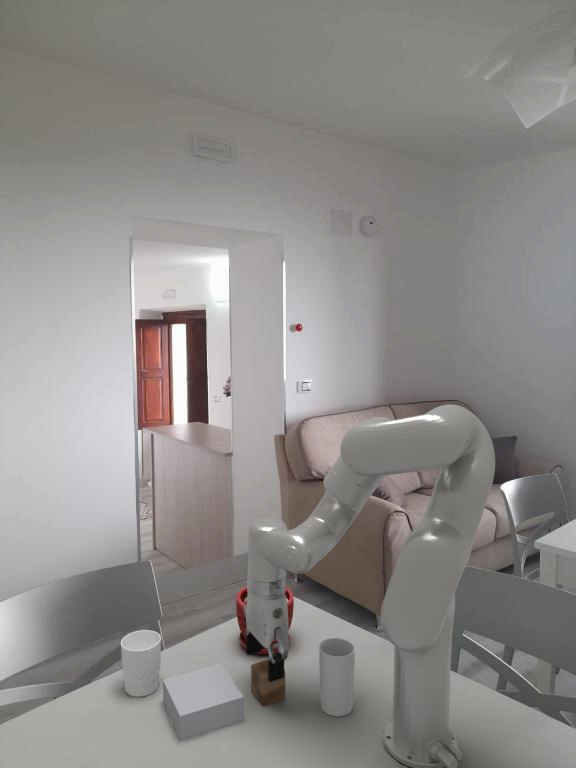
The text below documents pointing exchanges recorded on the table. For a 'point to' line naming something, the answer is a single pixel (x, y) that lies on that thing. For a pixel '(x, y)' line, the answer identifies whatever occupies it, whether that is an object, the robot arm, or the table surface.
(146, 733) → the table surface
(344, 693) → the mug
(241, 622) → the plant pot
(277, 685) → the walnut block
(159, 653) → the white cup
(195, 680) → the grey block
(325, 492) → the robot arm
